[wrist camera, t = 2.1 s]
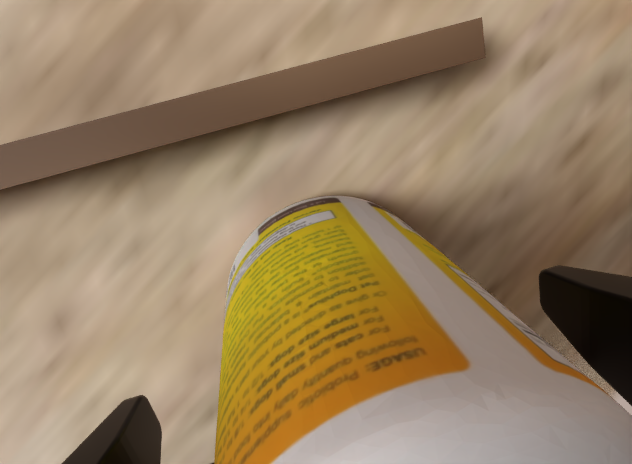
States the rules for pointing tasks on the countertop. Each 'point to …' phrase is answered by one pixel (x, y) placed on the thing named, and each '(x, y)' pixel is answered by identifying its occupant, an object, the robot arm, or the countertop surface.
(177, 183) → the countertop surface
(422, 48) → the walnut track
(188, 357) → the countertop surface
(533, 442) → the supplement bottle
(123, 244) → the countertop surface
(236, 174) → the countertop surface
